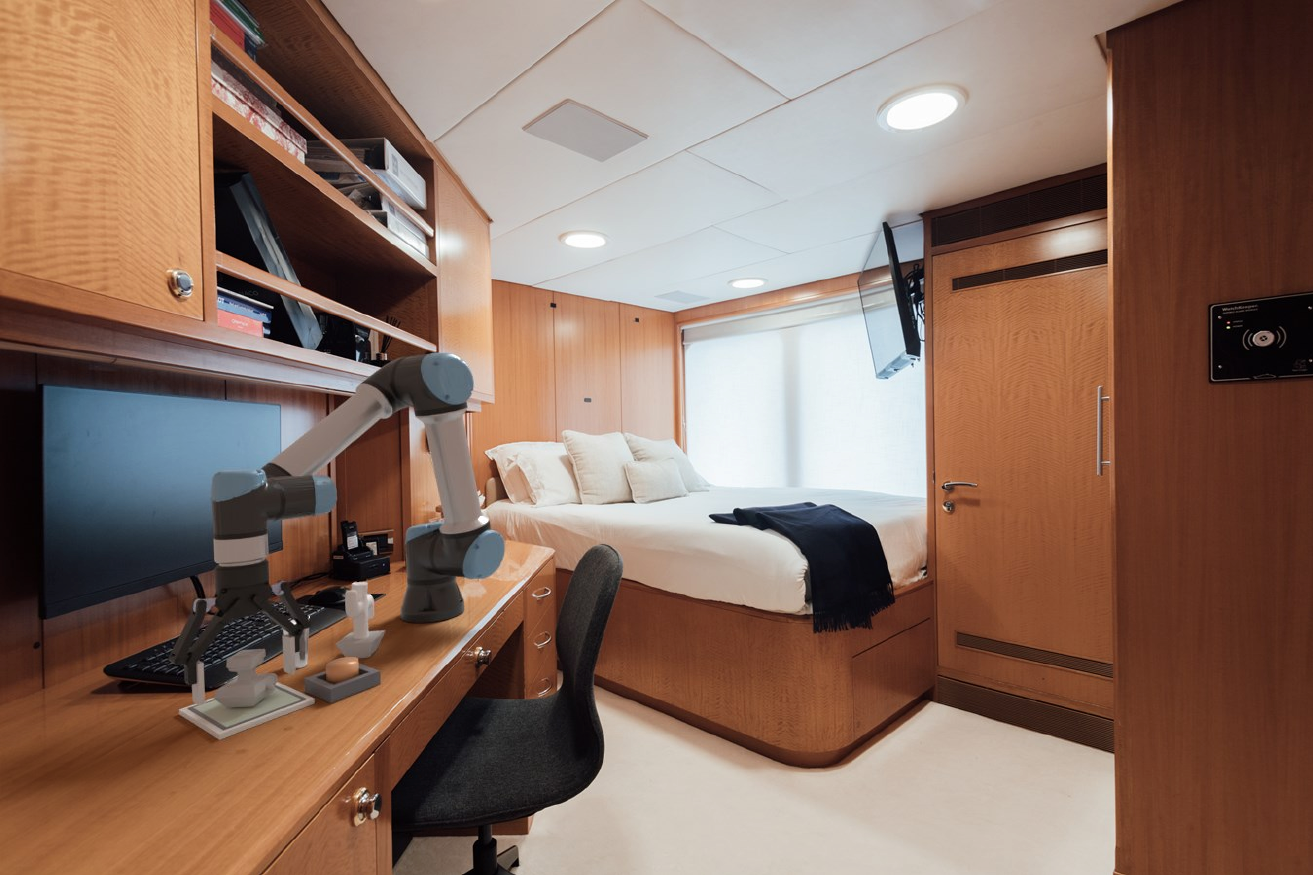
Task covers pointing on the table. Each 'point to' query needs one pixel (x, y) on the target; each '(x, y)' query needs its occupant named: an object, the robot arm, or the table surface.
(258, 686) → the stamp
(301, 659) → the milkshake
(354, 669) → the button
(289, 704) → the board
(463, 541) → the robot arm
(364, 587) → the figurine
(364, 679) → the button housing
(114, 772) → the table surface
